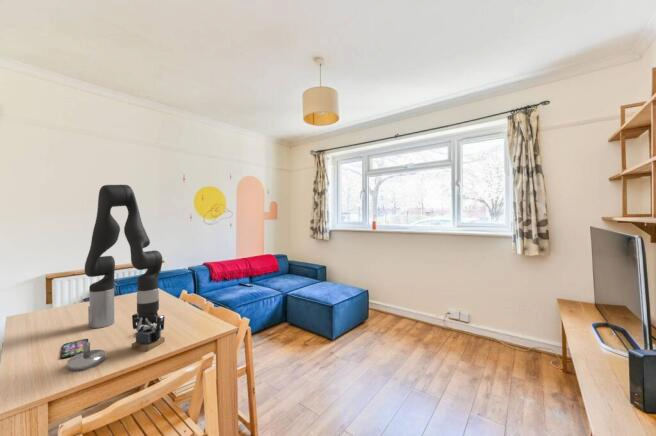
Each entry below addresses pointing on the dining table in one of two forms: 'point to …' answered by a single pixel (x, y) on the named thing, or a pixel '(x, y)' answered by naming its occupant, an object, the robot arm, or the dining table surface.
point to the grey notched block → (145, 336)
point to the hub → (86, 359)
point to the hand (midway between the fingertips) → (148, 339)
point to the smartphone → (72, 348)
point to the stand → (147, 347)
